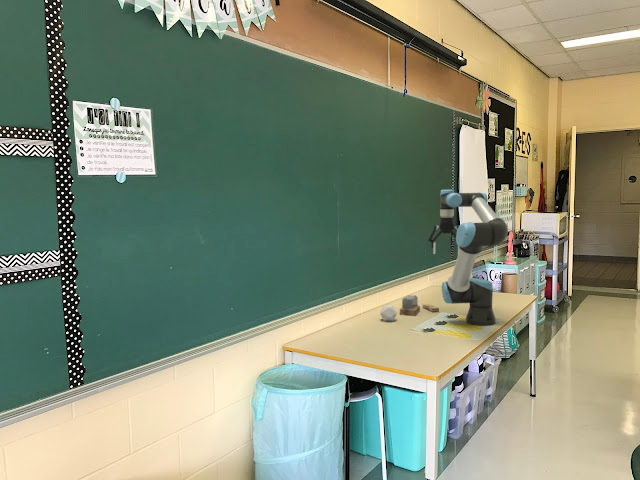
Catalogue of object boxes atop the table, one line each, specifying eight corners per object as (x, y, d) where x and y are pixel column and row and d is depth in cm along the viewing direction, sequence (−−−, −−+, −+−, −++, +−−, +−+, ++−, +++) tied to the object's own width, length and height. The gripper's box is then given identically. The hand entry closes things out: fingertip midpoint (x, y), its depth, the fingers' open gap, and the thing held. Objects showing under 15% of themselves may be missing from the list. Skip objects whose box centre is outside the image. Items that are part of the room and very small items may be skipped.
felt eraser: (438, 312, 294) (438, 308, 294) (432, 313, 293) (432, 308, 293) (428, 308, 305) (428, 303, 305) (422, 308, 304) (422, 304, 304)
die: (392, 324, 270) (401, 308, 272) (377, 315, 271) (386, 300, 273) (390, 326, 278) (398, 310, 280) (376, 317, 279) (384, 302, 282)
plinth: (419, 310, 297) (419, 305, 297) (415, 315, 285) (415, 310, 285) (404, 309, 300) (404, 304, 300) (399, 314, 288) (399, 309, 288)
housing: (417, 305, 296) (417, 295, 295) (412, 309, 287) (412, 298, 286) (407, 304, 299) (407, 294, 298) (402, 308, 290) (402, 297, 289)
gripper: (470, 216, 283) (469, 254, 284) (425, 216, 292) (425, 252, 294) (469, 217, 276) (468, 255, 278) (423, 217, 285) (423, 254, 287)
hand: (446, 254), depth 286 cm, fingers open, 13 cm apart
